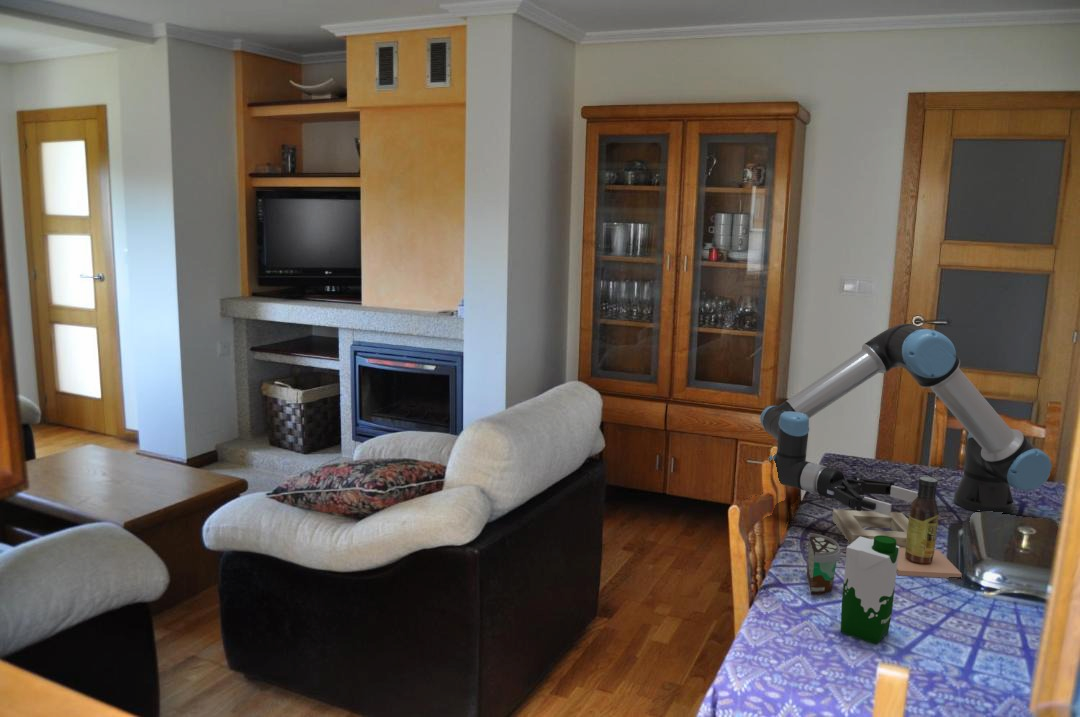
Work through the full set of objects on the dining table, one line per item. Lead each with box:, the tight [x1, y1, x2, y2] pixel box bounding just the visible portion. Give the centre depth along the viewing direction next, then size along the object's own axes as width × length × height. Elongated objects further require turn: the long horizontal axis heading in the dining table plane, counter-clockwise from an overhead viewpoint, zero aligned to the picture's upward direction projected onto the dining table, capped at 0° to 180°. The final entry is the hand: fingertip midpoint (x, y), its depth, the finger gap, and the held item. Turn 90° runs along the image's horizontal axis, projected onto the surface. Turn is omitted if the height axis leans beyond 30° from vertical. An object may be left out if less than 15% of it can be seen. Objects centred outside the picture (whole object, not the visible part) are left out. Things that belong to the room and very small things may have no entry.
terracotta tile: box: [896, 547, 963, 579], centre depth 201 cm, size 14×14×1 cm
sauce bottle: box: [905, 476, 940, 564], centre depth 200 cm, size 6×6×20 cm
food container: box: [806, 532, 842, 595], centre depth 188 cm, size 12×6×10 cm, turn 168°
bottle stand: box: [831, 509, 909, 548], centre depth 219 cm, size 18×18×3 cm
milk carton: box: [840, 535, 900, 645], centre depth 167 cm, size 9×9×20 cm
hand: (904, 504), depth 203 cm, fingers open, 13 cm apart
